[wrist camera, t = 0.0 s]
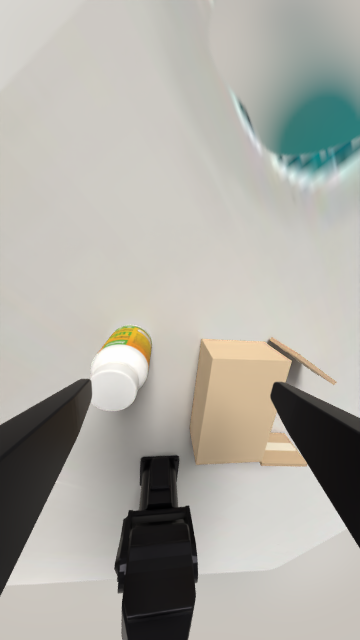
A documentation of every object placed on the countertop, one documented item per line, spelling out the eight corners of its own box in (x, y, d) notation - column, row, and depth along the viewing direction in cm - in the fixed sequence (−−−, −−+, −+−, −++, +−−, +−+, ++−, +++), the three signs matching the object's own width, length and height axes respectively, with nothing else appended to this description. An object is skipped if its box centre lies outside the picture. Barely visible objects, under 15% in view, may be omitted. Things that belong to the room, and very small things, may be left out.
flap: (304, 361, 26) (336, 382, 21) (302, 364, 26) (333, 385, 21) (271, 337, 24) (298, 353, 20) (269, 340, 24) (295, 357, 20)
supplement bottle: (136, 315, 22) (117, 349, 13) (159, 347, 23) (158, 397, 14) (102, 337, 22) (59, 386, 13) (127, 367, 24) (106, 429, 15)
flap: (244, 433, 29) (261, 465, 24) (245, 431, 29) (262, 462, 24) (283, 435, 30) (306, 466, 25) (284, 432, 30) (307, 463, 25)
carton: (243, 427, 29) (261, 461, 24) (189, 428, 28) (195, 464, 23) (264, 341, 25) (292, 360, 20) (201, 338, 24) (212, 358, 18)
